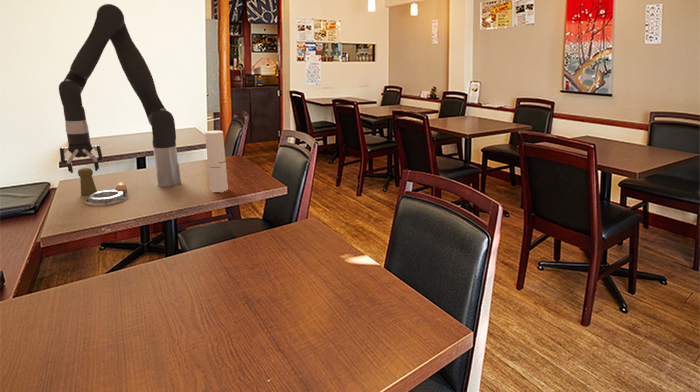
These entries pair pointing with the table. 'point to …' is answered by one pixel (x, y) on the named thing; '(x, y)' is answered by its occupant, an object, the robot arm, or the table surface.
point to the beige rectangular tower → (216, 161)
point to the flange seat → (106, 198)
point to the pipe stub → (121, 187)
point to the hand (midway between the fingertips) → (84, 171)
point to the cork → (86, 181)
